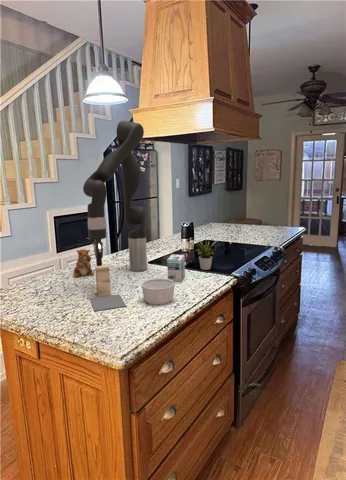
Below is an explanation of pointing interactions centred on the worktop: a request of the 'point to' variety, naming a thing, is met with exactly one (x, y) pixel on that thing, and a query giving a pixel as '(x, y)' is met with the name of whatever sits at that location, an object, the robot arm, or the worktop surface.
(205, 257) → the house plant
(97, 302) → the slate mat
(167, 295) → the ramekin
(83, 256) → the stuffed squirrel
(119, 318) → the worktop surface
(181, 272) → the light bulb box
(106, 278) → the maple block
